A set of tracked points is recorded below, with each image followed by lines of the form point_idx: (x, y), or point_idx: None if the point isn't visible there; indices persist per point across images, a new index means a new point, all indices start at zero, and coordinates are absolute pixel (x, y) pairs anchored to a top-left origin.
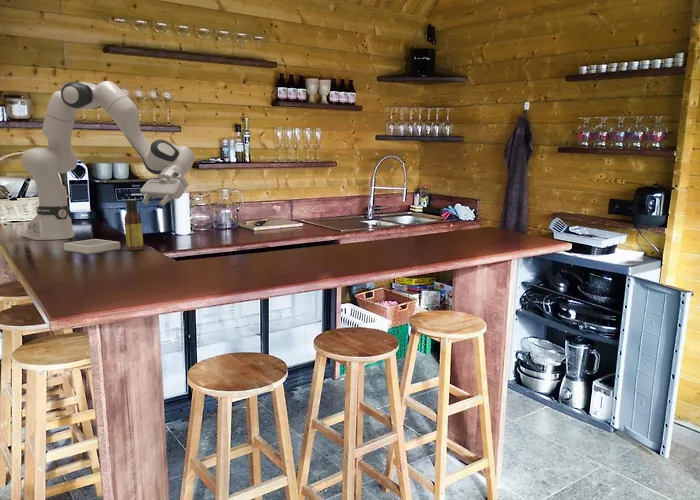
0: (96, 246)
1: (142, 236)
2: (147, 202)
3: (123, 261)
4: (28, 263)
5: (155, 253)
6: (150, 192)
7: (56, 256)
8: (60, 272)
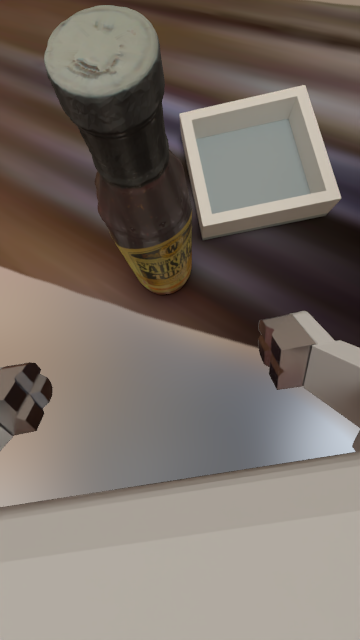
0: (185, 142)
1: (137, 274)
2: (269, 363)
3: (26, 161)
4: (168, 5)
5: (62, 281)
6: (328, 458)
7: (217, 72)
8: (21, 24)
